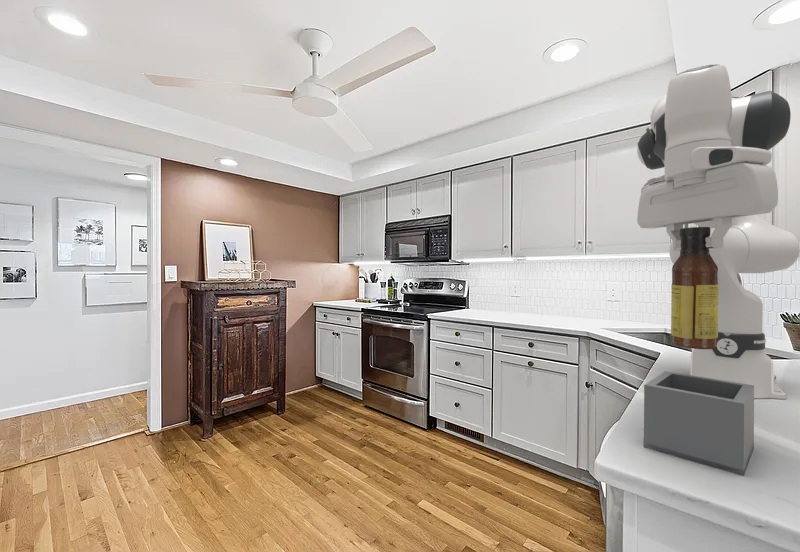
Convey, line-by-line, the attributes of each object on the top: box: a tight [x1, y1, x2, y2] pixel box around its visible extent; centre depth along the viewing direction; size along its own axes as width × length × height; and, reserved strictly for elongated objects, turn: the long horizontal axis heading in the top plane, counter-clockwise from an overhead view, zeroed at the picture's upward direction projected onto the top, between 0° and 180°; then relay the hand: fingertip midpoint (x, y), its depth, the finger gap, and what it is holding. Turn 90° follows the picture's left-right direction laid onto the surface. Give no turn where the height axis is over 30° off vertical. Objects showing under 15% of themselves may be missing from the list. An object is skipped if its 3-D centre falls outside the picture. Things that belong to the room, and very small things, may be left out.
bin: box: [643, 370, 755, 477], centre depth 59 cm, size 12×12×10 cm
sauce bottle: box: [670, 226, 718, 350], centre depth 63 cm, size 7×6×20 cm
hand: (697, 249), depth 63 cm, fingers open, 4 cm apart
